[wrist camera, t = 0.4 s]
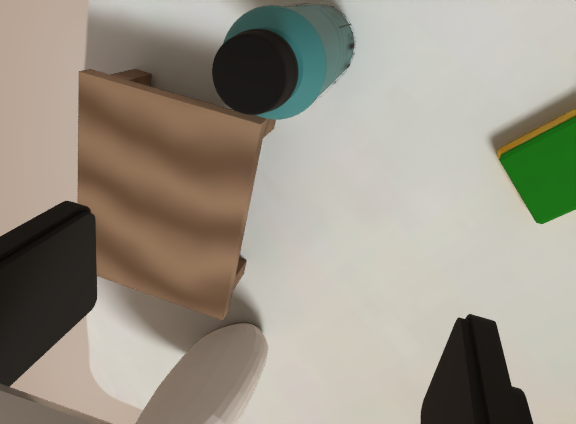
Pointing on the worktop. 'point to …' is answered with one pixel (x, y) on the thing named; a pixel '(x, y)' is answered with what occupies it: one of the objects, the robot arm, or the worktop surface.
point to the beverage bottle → (282, 59)
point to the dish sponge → (545, 168)
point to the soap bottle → (211, 379)
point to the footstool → (166, 187)
